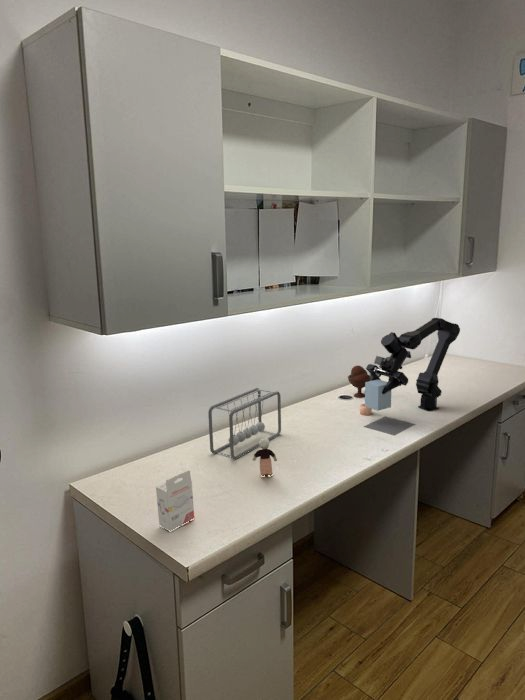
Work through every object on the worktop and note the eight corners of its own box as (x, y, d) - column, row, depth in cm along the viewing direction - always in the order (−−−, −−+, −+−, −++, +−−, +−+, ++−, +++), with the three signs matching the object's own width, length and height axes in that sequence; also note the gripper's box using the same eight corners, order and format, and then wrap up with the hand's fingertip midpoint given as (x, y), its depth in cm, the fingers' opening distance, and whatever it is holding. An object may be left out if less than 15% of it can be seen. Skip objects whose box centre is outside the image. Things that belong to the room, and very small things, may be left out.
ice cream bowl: (371, 399, 241) (372, 368, 238) (347, 399, 243) (347, 367, 240) (371, 393, 251) (372, 362, 248) (348, 392, 253) (348, 362, 250)
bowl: (366, 412, 225) (366, 403, 224) (373, 415, 221) (374, 406, 220) (357, 414, 223) (357, 405, 222) (364, 417, 218) (364, 408, 218)
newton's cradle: (259, 429, 208) (258, 386, 205) (281, 434, 202) (280, 390, 198) (209, 455, 185) (207, 407, 181) (232, 461, 179) (230, 412, 175)
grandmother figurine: (275, 471, 170) (275, 435, 167) (278, 477, 166) (277, 439, 163) (252, 474, 169) (251, 437, 166) (254, 479, 165) (252, 441, 162)
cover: (377, 402, 215) (378, 379, 213) (390, 407, 209) (391, 383, 207) (364, 406, 211) (365, 382, 209) (377, 410, 205) (378, 386, 203)
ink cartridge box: (183, 514, 146) (179, 464, 142) (194, 520, 142) (191, 469, 139) (158, 527, 139) (154, 475, 136) (169, 533, 136) (166, 481, 133)
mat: (385, 417, 218) (385, 416, 218) (415, 425, 208) (415, 424, 208) (363, 427, 207) (363, 426, 207) (394, 436, 197) (394, 435, 197)
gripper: (369, 344, 215) (349, 375, 211) (404, 352, 199) (382, 385, 196) (383, 360, 221) (363, 390, 217) (417, 369, 205) (396, 401, 202)
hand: (375, 391), depth 208 cm, fingers closed on cover, 7 cm apart
